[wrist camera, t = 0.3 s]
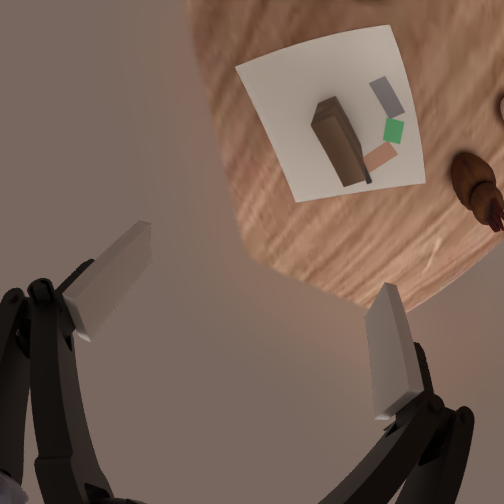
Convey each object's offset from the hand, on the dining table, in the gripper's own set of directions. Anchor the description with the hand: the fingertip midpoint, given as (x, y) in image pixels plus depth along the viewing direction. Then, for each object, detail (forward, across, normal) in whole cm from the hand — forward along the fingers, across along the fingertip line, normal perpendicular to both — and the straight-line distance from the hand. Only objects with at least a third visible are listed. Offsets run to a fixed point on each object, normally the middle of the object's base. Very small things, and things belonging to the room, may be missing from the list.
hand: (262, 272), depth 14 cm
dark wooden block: (+24, +7, +5) cm, 26 cm away
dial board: (+26, +5, +8) cm, 27 cm away
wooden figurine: (+25, +24, +8) cm, 36 cm away
